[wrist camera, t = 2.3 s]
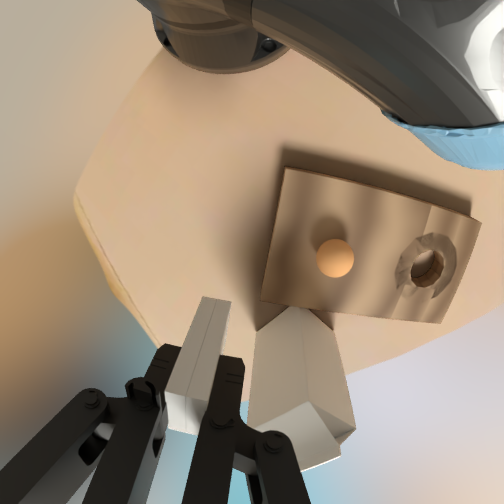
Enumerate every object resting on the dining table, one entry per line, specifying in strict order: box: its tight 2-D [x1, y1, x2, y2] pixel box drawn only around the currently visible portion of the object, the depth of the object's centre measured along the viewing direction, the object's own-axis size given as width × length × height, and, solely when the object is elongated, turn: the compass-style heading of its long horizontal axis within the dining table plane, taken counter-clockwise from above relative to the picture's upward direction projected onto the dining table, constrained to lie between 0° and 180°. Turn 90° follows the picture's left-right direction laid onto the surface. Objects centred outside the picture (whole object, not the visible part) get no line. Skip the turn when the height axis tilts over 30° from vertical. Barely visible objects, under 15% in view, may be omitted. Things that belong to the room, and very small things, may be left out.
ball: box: [316, 239, 354, 278], centre depth 26 cm, size 4×4×4 cm
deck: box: [260, 166, 482, 324], centre depth 29 cm, size 24×14×2 cm, turn 81°
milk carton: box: [247, 306, 356, 472], centre depth 26 cm, size 7×7×19 cm
